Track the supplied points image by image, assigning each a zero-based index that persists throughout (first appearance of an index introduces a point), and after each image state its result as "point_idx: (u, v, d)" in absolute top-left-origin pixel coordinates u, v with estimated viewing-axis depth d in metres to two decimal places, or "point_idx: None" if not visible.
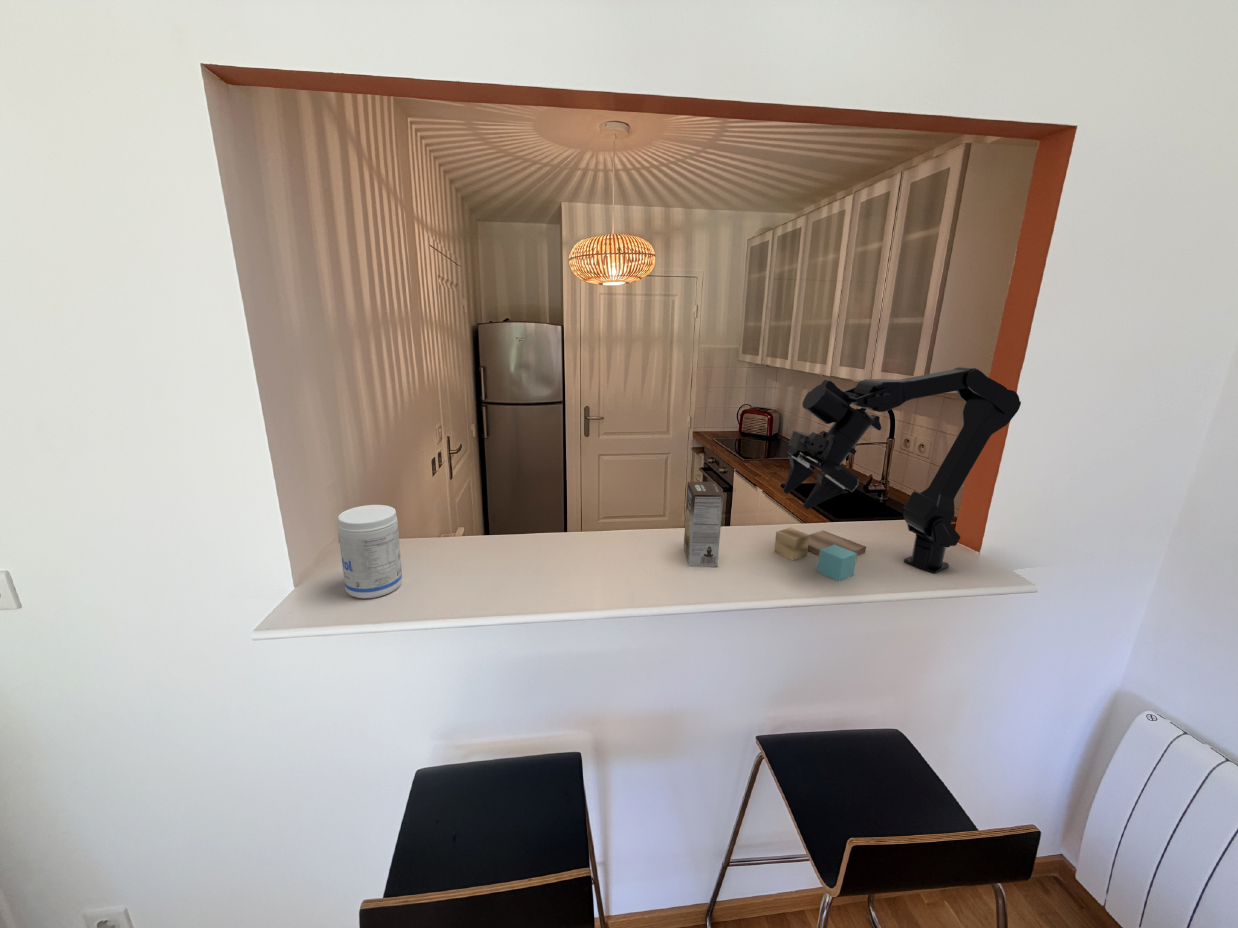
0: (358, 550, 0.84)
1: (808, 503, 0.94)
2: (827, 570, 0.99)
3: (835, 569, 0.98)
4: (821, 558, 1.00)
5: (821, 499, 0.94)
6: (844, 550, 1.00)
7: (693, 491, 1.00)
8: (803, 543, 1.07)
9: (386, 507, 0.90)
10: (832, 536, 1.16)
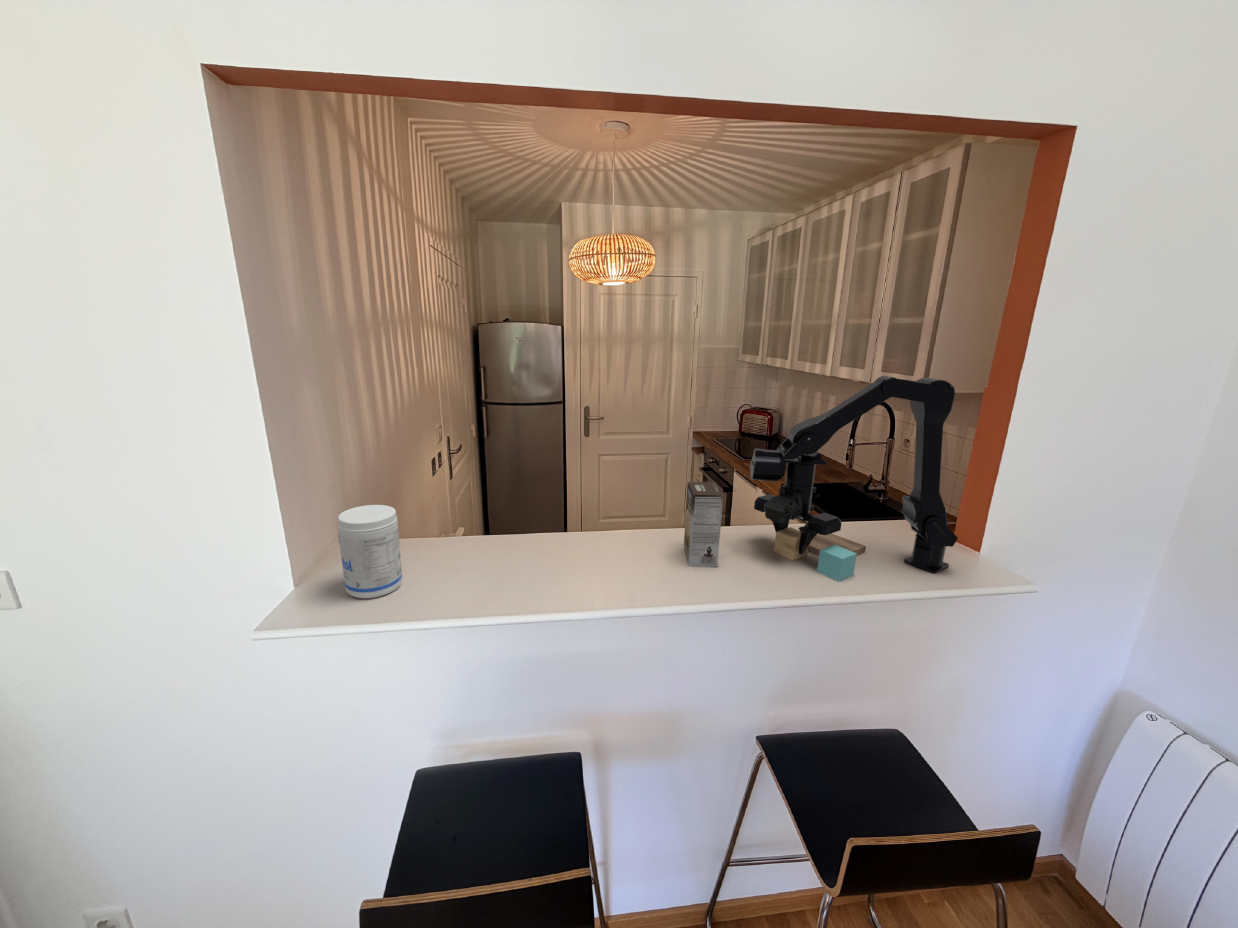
0: (358, 550, 0.84)
1: (802, 550, 1.06)
2: (827, 571, 0.99)
3: (835, 569, 0.98)
4: (821, 558, 1.00)
5: (809, 541, 1.06)
6: (844, 550, 1.00)
7: (693, 491, 1.00)
8: None
9: (386, 507, 0.90)
10: (832, 536, 1.16)
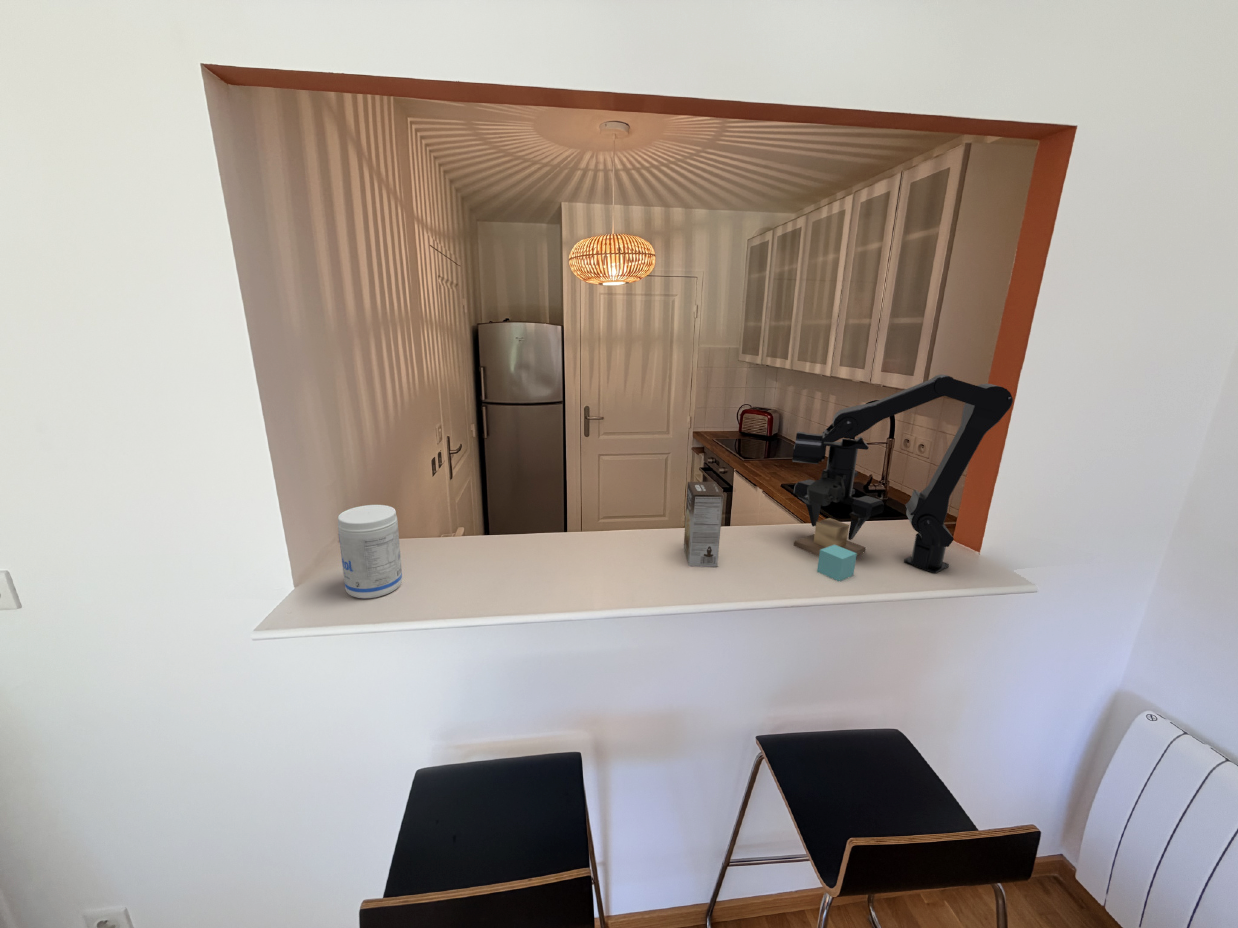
0: (358, 550, 0.84)
1: (852, 536, 1.07)
2: (827, 571, 0.99)
3: (835, 569, 0.98)
4: (821, 558, 1.00)
5: (858, 527, 1.07)
6: (844, 550, 1.00)
7: (693, 491, 1.00)
8: (843, 533, 1.10)
9: (386, 507, 0.90)
10: None
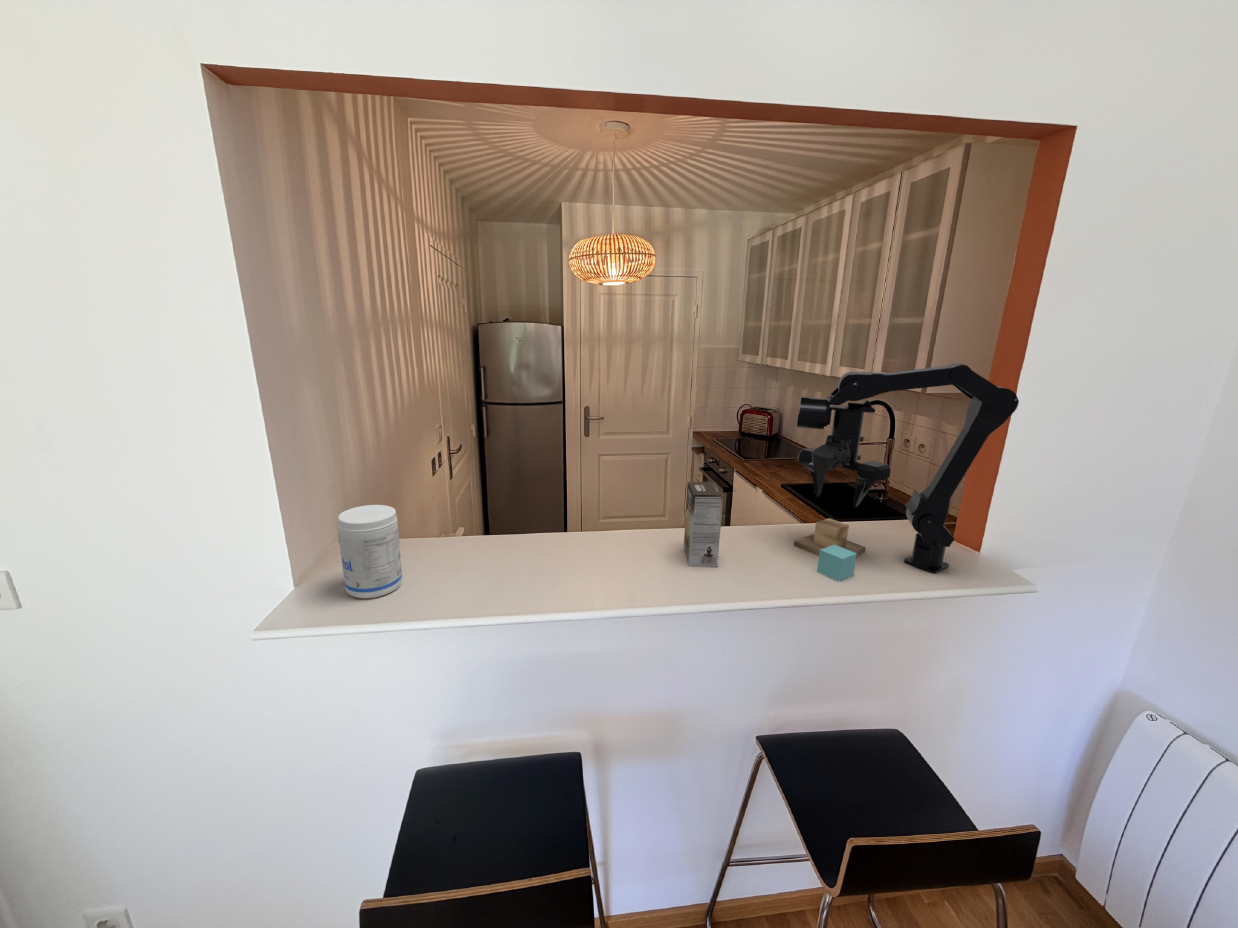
0: (358, 550, 0.84)
1: (857, 502, 1.05)
2: (827, 571, 0.99)
3: (835, 569, 0.98)
4: (821, 558, 1.00)
5: (864, 493, 1.04)
6: (844, 550, 1.00)
7: (693, 491, 1.00)
8: (843, 533, 1.10)
9: (386, 507, 0.90)
10: None
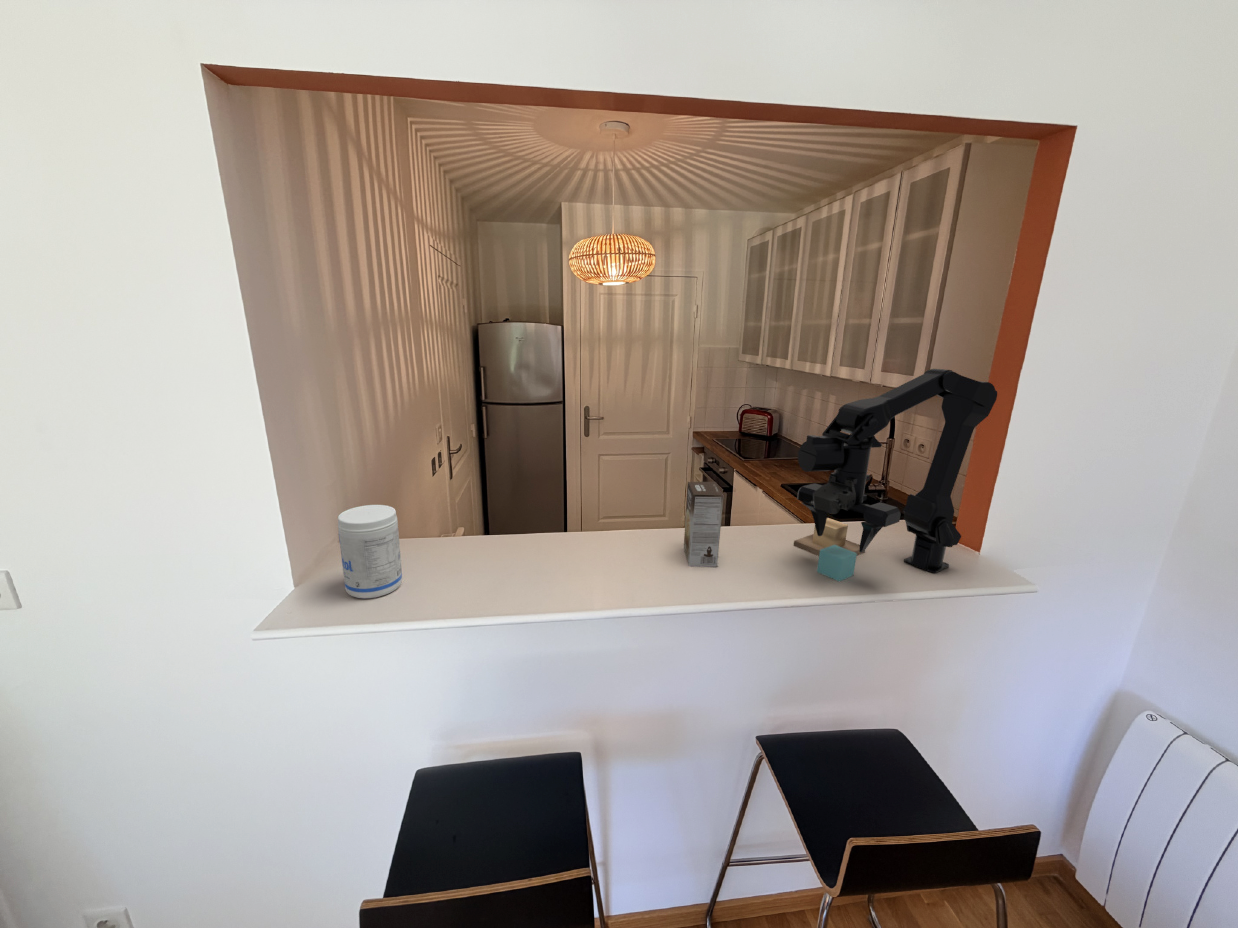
0: (358, 550, 0.84)
1: (864, 547, 0.95)
2: (827, 570, 0.99)
3: (835, 569, 0.98)
4: (821, 558, 1.00)
5: (871, 537, 0.95)
6: (844, 550, 1.00)
7: (693, 491, 1.00)
8: (842, 533, 1.10)
9: (386, 507, 0.90)
10: None
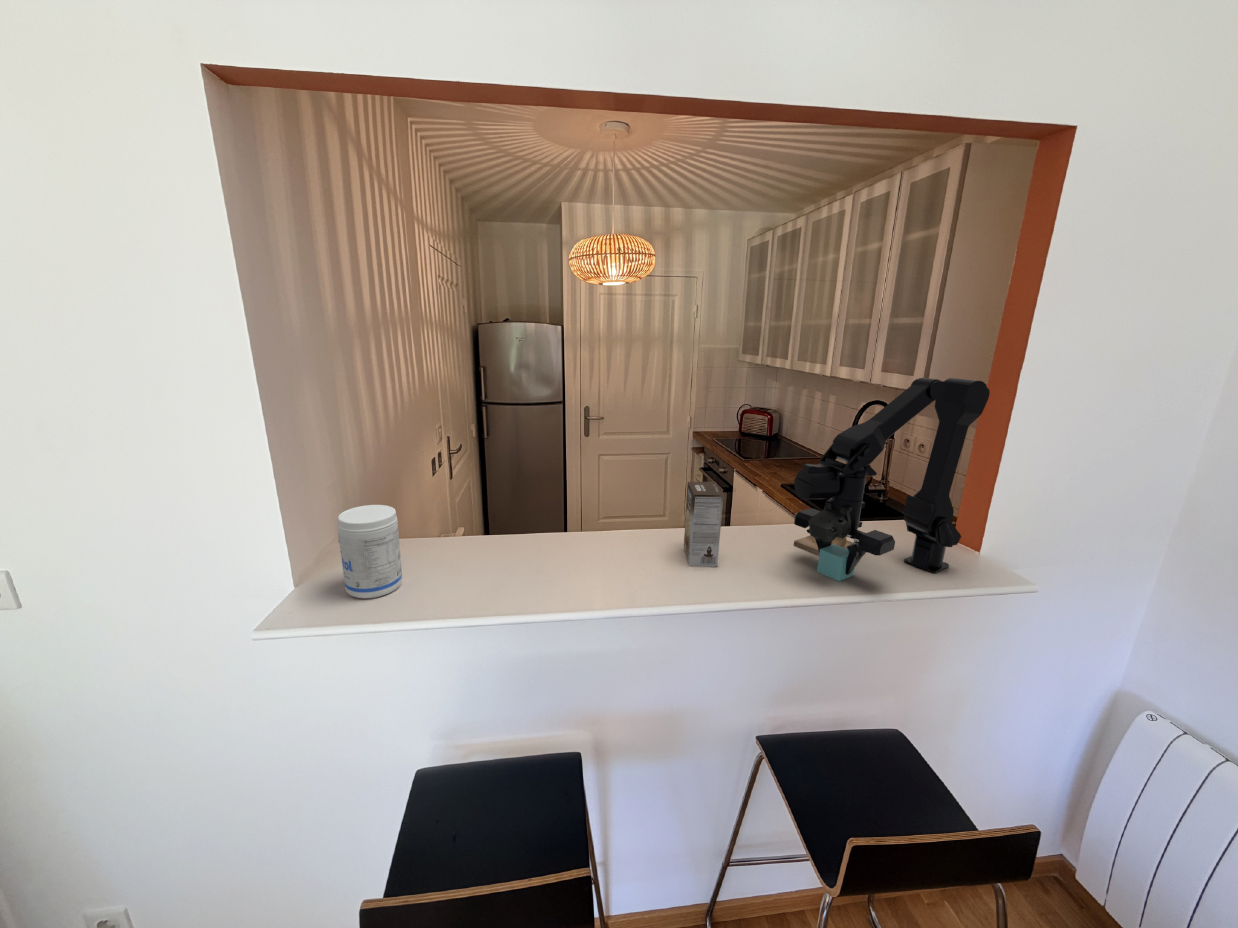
0: (358, 550, 0.84)
1: (849, 570, 0.98)
2: (827, 570, 0.99)
3: (835, 569, 0.98)
4: (821, 558, 1.00)
5: (857, 560, 0.97)
6: (845, 550, 1.00)
7: (693, 491, 1.00)
8: None
9: (386, 507, 0.90)
10: None
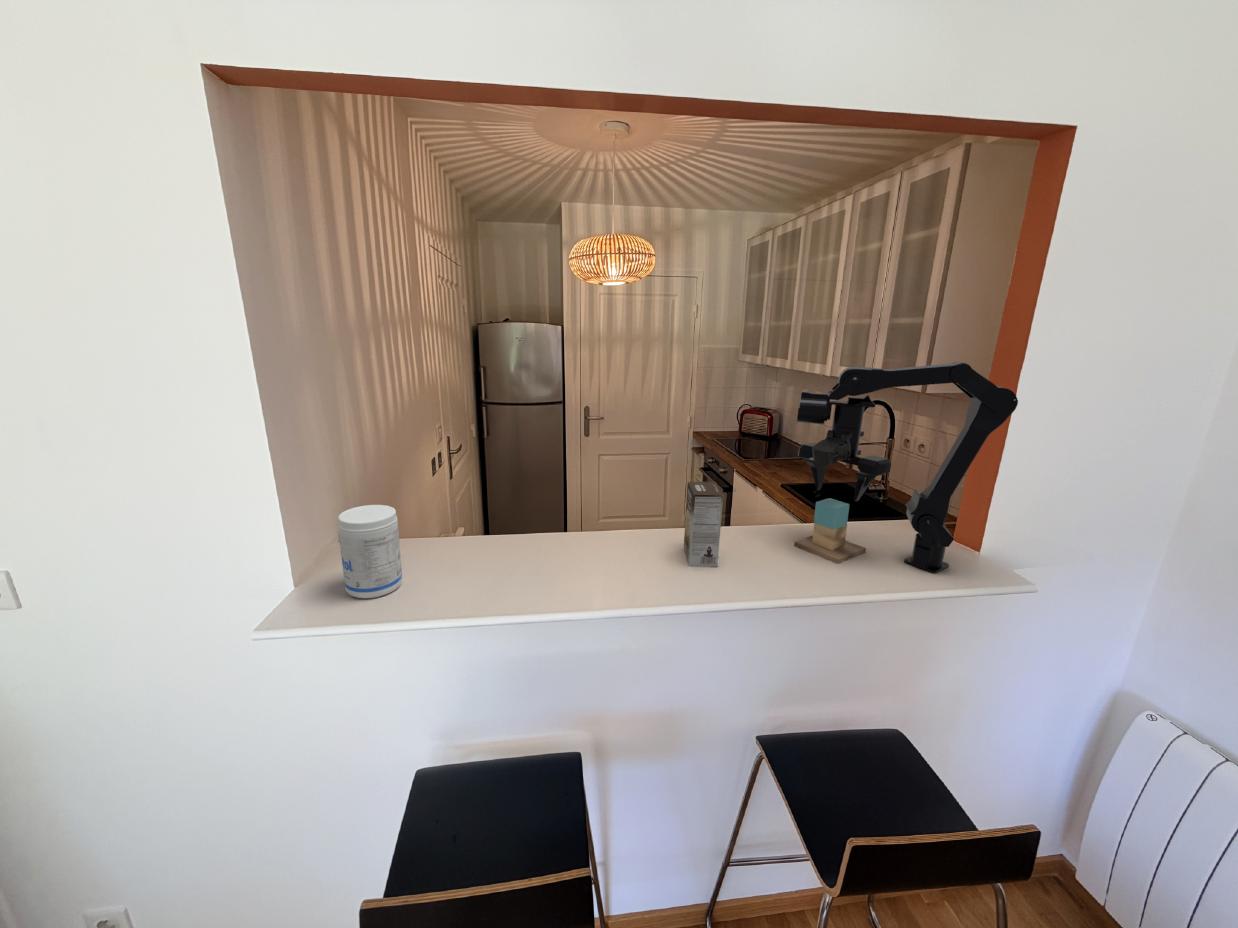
0: (358, 550, 0.84)
1: (858, 497, 1.05)
2: (823, 520, 1.10)
3: (829, 518, 1.08)
4: (817, 509, 1.11)
5: (865, 487, 1.05)
6: (838, 502, 1.10)
7: (693, 491, 1.00)
8: (841, 533, 1.10)
9: (386, 507, 0.90)
10: None
